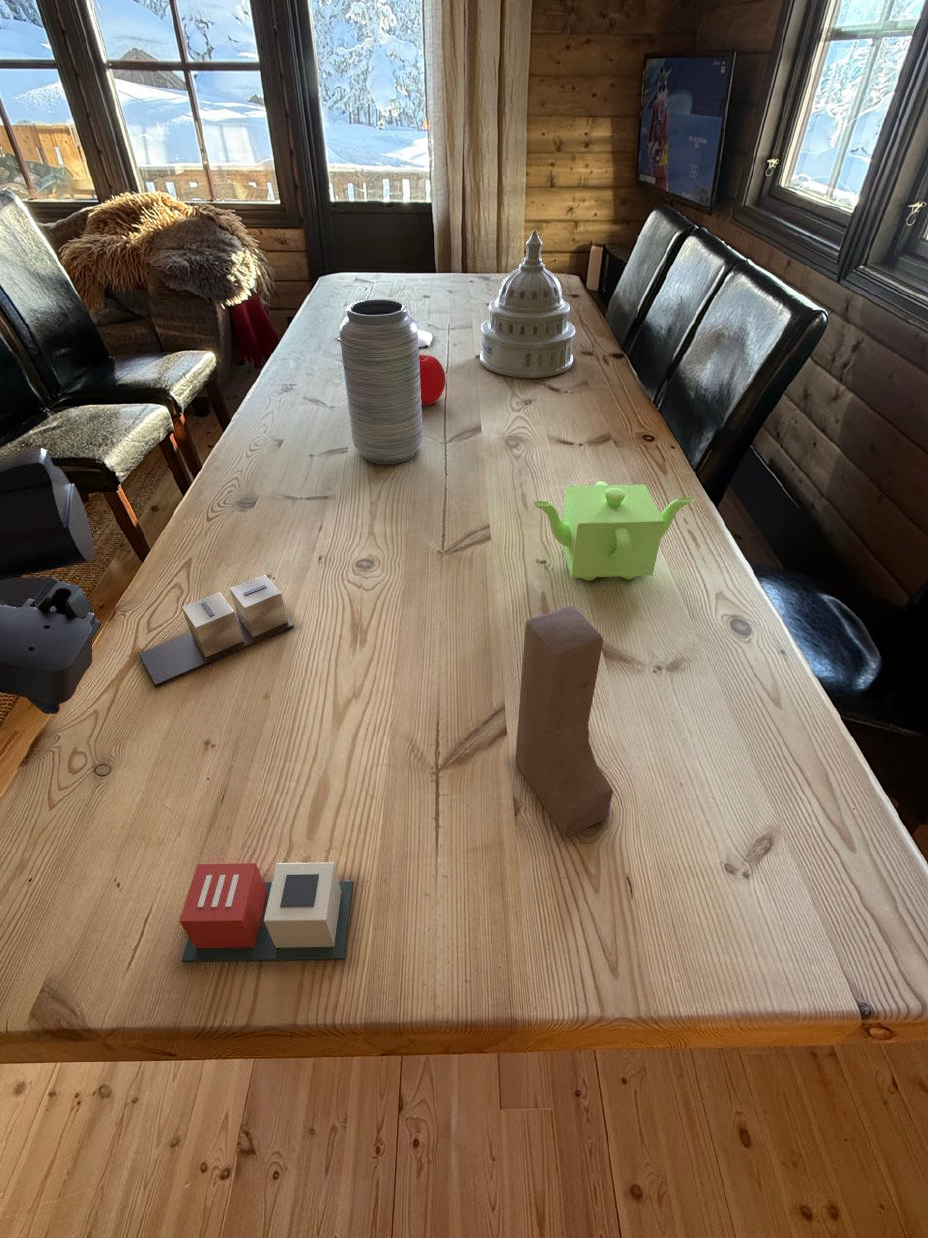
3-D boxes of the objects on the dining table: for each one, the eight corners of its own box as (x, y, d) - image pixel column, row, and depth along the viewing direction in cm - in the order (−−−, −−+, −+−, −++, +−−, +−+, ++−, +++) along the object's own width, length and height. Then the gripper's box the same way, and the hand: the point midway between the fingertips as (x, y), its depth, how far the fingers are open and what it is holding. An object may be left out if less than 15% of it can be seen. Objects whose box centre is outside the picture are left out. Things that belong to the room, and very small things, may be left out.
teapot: (526, 565, 86) (531, 494, 79) (579, 522, 94) (588, 453, 87) (631, 612, 79) (647, 537, 72) (679, 560, 87) (698, 489, 80)
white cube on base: (182, 963, 49) (162, 933, 46) (205, 885, 53) (188, 853, 50) (344, 960, 49) (335, 931, 46) (353, 883, 53) (346, 851, 50)
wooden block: (608, 820, 58) (643, 676, 46) (564, 840, 56) (589, 697, 44) (553, 746, 64) (573, 602, 52) (513, 762, 62) (523, 618, 51)
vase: (340, 451, 111) (321, 306, 96) (396, 431, 117) (385, 291, 102) (381, 476, 104) (366, 324, 89) (437, 454, 110) (432, 307, 95)
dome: (500, 216, 136) (596, 223, 131) (496, 341, 153) (582, 351, 147) (465, 236, 122) (572, 244, 117) (466, 371, 138) (559, 384, 133)
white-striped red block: (195, 948, 49) (178, 921, 46) (212, 891, 52) (197, 862, 50) (254, 947, 49) (241, 920, 46) (267, 890, 53) (255, 862, 50)
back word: (156, 687, 70) (141, 654, 67) (139, 656, 74) (124, 623, 70) (294, 627, 77) (286, 594, 74) (272, 601, 81) (264, 569, 78)
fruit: (410, 389, 131) (407, 337, 125) (452, 396, 129) (451, 343, 122) (390, 407, 125) (385, 353, 118) (433, 414, 122) (431, 360, 116)
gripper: (-51, 715, 31) (79, 880, 41) (107, 506, 45) (174, 668, 55) (-289, 718, 31) (-101, 883, 41) (-56, 508, 45) (41, 669, 55)
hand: (23, 760), depth 48 cm, fingers open, 9 cm apart
